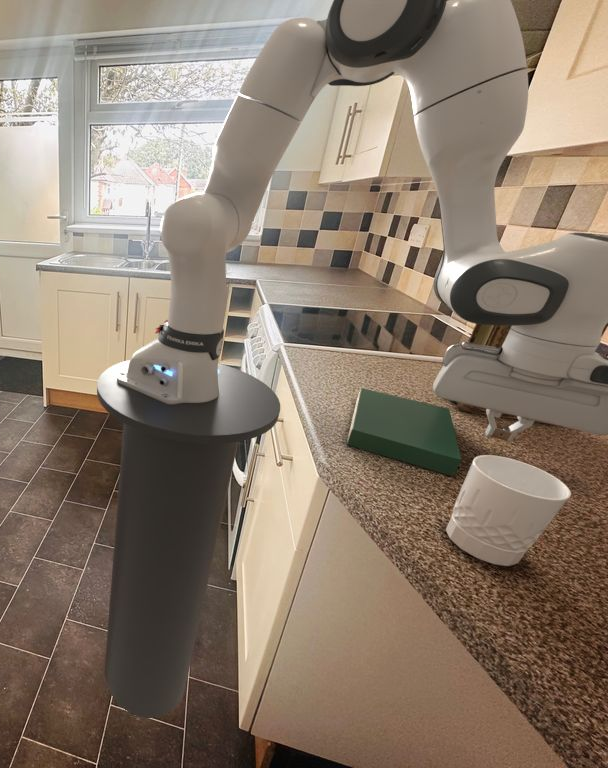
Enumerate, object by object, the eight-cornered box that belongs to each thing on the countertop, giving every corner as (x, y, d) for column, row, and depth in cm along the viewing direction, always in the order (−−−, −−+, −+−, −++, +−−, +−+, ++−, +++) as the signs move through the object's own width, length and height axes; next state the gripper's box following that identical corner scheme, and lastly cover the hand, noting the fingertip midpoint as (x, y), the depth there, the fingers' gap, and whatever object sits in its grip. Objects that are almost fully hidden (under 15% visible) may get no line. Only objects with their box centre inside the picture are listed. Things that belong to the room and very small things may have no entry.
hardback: (346, 444, 69) (351, 429, 67) (356, 401, 84) (360, 387, 83) (453, 476, 62) (461, 459, 60) (442, 422, 77) (449, 408, 76)
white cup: (423, 520, 53) (455, 454, 49) (481, 519, 53) (517, 454, 49) (479, 572, 46) (522, 500, 41) (545, 570, 46) (593, 499, 42)
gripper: (453, 344, 62) (418, 424, 68) (657, 381, 52) (595, 471, 58) (449, 334, 67) (417, 409, 73) (635, 366, 57) (580, 451, 63)
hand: (497, 437), depth 65 cm, fingers closed
